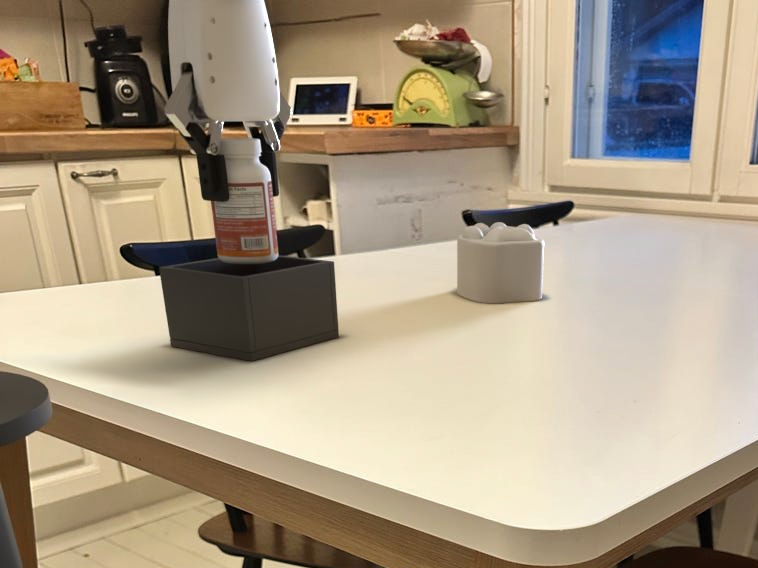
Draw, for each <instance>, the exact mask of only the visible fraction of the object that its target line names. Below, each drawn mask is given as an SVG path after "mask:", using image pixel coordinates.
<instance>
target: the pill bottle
mask: <svg viewBox="0 0 758 568" xmlns="http://www.w3.org/2000/svg"><path fill="white" fill-rule="evenodd" d="M261 152H262V151H261V144H260V139H254V138H249V137H227V138H225V137H224V138H223V137H221V141H220V147H219V152H218V155H224V158H225V162H226V171H227V179H228V188H229V197H230V198H229V200H228V201H226V202H219V201H210V207H211V214H212V222H213V230H214V238H215V248H216V253H217V258H219V259H220V260H221V261H222V262H225V263H229V264H262V263H268V262H272V261H274V260H276V259H277V258H278V255H279V245H278V236H277V226H276V216H275V215H276V214H275V206H274V205H275V203H274V197H273V192H272V182H271V175H270V172H269V170H268V168H267V167H266V166H264V165H263V164H261V163H260V161H259V156H261V154H260V153H261Z"/></svg>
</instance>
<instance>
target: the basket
mask: <svg viewBox="0 0 758 568" xmlns="http://www.w3.org/2000/svg"><path fill="white" fill-rule="evenodd" d="M335 268H336V267H335V261H332V260H325V259H317V258H316V259H314V258H306V257H297V256H289V255H281V254H278V258H277V259H276V260H274V261H272V262H268V263H262V264H229V263H225V262H222V261H221V260H220V259H219V258H218V257H217V258H216V257H214V258H209V259H202V260H195V261H189V262H184V263H178V264H170V265H165V266H159V267H158V271H159V277H160V283H161V289H162V296H163V303H164V308H165V309H164V310H165V316H166V322H167V328H168V335H169V342H170V346H171V347H175V348H180V349H184V350H188V351H189V350H190V351H195V352H200V353H206V354H211V355H216V356H222V357H227V358H232V359H237V360H243V361H249V362H254V361H257V360H260V359H265V358H267V357H272V356H275V355H279V354H283V353H286V352H290V351H294V350H297V349H300V348H305V347H308V346H311V345H315V344H318V343H322V342H326V341H329V340H333V339H336V338H339V337H340V331H339V316H338V315H339V314H338V301H337V299H338V298H337V286H336V271H335Z"/></svg>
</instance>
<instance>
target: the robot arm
mask: <svg viewBox="0 0 758 568" xmlns="http://www.w3.org/2000/svg"><path fill="white" fill-rule="evenodd" d="M167 18H168V19H167V24H168V25H167V30H168V31H167V34H168V35H167V36H168V37H167V39H168V56H169V71H170V80H171V90H172V93H171V95H170V96H169V98H168V100H167V102H166V103H165V106H164V109H163V110H164V114H165V115H166V117H167V118H168V119H169V121H170V123H172V124H173V125H174V127H175V128H176V129H178V133H179V135H180V136H181V138H183V139H184V141H185V143H187V145H188V149H189V152H190V153H191V154H193V155H196V163H197V170H198V179H199V180H198V181H199V185H200V194H201V198H202V200H203V201H205V202H206V201H209V202H211V201H219V202H226V201H228V200H229V198H230V197H229V188H228V179H227V171H226V162H225V158H224V155H218V152H219V147H220V141H221V138H222V134H223V128H224V123H225V122H242V124H243V127H244V129H245V131H246V135H247V138H254V139H260V144H261V151H262V152H261V153H260V154H261V156H259V161H260V163H261V164H263V165H264V166H266V167H267V168H268V170H269V172H270V175H271V182H272V192H273V198H275V197H279V195H280V188H279V176H278V166H277V165H278V164H277V155H276V153H279V151H280V149H281V145H280V141H281V139H282V137H283V135H284V133H285V127H286V126H287V124H288V122H289V120H290V118H291V116H292V114H293V110H292V108H291V105H290V103H288V101H287V99H286V98H285V97H284V96H283V94H282V92H281V91H280V83H279V74H278V73H279V72H278V66H277V58H276V53H275V45H274V39H273V35H272V28H271V24H270V19H269V16H268V10H267V7H266V2H265V0H168V17H167ZM207 128H208V129H207ZM259 128H260V129H261V130H260V129H259ZM206 129H207V133H206Z"/></svg>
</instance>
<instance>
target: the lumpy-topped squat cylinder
mask: <svg viewBox="0 0 758 568" xmlns="http://www.w3.org/2000/svg"><path fill="white" fill-rule="evenodd" d="M544 257H545V240H544V239H543V238H542V237H539V236H535V234H534V230H533V229H532V227H531V226H530V225H529V224H527V223H522V224H519V225H517V226H509V225H506V224H505V223H504V222H500V221H498V222H497V221H496V222H494V223H493V224H492V225H490V227H489V225H487V224H485V223H483V222H478V223H476V224H474V225H469V226H467V227H465V228H464V230H463V232H462V233H460V234H459V235H458V236H457V240H456V265H457V266H456V268H457V269H456V273H457V274H456V285H457V286H456V291H457V292H456V293H457V295H458V296H460V297H462V298H465V299H467V300H470V301H473V302H478V303H482V304H483V303H484V304H504V303H517V302H534V301H535V302H536V301H540V300H542V299H543V284H544V283H543V281H544V261H545V260H544V259H545V258H544Z"/></svg>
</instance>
